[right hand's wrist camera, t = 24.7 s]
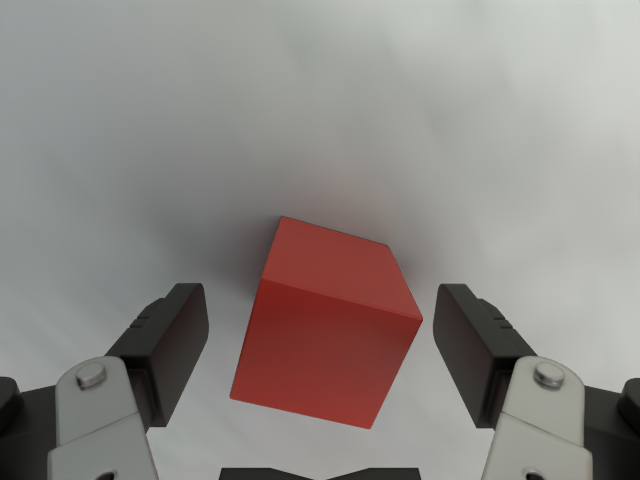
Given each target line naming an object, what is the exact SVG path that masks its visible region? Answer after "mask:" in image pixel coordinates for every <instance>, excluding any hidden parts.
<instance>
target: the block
mask: <svg viewBox="0 0 640 480" xmlns="http://www.w3.org/2000/svg"><path fill="white" fill-rule="evenodd" d="M422 321H423V317H422V315H421V313H420V311H419V309H418V307H417V304H416V302H415V300H414V298H413V296H412V294H411V292H410V290H409V288H408V286H407V284H406V281H405V279H404V277H403V275H402V273H401V271H400V269H399V267H398V265H397V263H396V260H395V258H394V256H393V254H392V252H391V250H390V248H389V246H387V245H383V244H380V243H376V242H372V241H369V240H365V239H362V238H358V237H355V236H351V235H348V234H344V233H340V232H337V231H333V230H330V229H326V228H323V227H319V226H315V225H312V224H308V223H305V222H301V221H298V220H294V219H290V218H287V217H281V219H280V222H279V225H278V228H277V231H276V234H275V237H274V240H273V243H272V246H271V248H270V251H269V254H268V257H267V260H266V263H265V266H264V269H263V272H262V275H261V278H260V282H259V285H258V289H257V293H256V297H255V301H254V305H253V308H252V312H251V316H250V320H249V324H248V327H247V331H246V335H245V339H244V343H243V346H242V350H241V354H240V358H239V362H238V365H237V369H236V373H235V377H234V381H233V384H232V388H231V392H230V398H231V399H234V400H238V401H243V402H247V403H252V404H256V405H261V406H266V407H270V408H275V409H279V410H284V411H288V412H293V413H297V414H302V415H306V416H311V417H316V418H320V419H325V420H329V421H334V422H338V423H343V424H347V425H352V426H356V427H361V428H366V429H370V428H371V427H372V425H373V423H374V420H375V418H376V416H377V414H378V412H379V410H380V408H381V406H382V404H383V402H384V400H385V398H386V396H387V394H388V391H389V389H390V387H391V385H392V383H393V381H394V379H395V377H396V375H397V373H398V371H399V369H400V367H401V365H402V362H403V360H404V358H405V356H406V354H407V352H408V350H409V348H410V346H411V344H412V342H413V340H414V338H415V336H416V333H417V331H418V329H419V327H420V325H421V323H422Z"/></svg>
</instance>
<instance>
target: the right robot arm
mask: <svg viewBox="0 0 640 480" xmlns="http://www.w3.org/2000/svg"><path fill="white" fill-rule="evenodd" d="M208 332H209V322H208V315H207V308H206V301H205V294H204V288H203V285H202V284H201V283H177V284H176V285H175V286H174V287H173V289H172V290H171V291H170V292H169V294H168V295H167V296H166V297H165V298H159V299H158V300H156V301H154V302H153V303H151V304H150V305H148V306H147V307H145V309H144V310H143V311H142V312H141V313H140V314H139V316H138V317H137V319H135V320H134V321H133V323H132V324H131V325H130V328H128V329H127V330H126V331H125V332H124V333H123V334H122V336H121V337H120V338H119V339H118V340H117V341H116V343H115V344H114V345H113V346H112V347H111V348H110V350H109V351H108V352H107V353H106V354H105V355H104V356H102V357H96V358H92V359H89V360H87V361H84V362H82V363H80V364H78V365H76V366H74V367H73V368H71V369H70V370H68V371H67V372H66V373H65V374H64V375H63V376H62V377H61V378H60V379H59V381H58V382H57V384H56V385H54V386H49V387H44V388H40V389H35V390H31V391H26V392H22V393H20V391H19V388H18V386H17V383H16V381H15V380H14V379H12V378H9V377H0V480H159V478H158V474H157V471H156V467H155V464H154V461H153V457H152V454H151V450H150V447H149V444H148V440H147V437H146V433H147V431H148V429H149V427H166V426H167V424H168V422H169V420H170V418H171V415H172V413H173V411H174V409H175V407H176V405H177V403H178V401H179V399H180V397H181V394H182V392H183V390H184V388H185V386H186V384H187V382H188V380H189V378H190V375H191V373H192V371H193V369H194V367H195V365H196V363H197V361H198V359H199V356H200V354H201V352H202V350H203V348H204V346H205V344H206V342H207V338H208ZM433 335H434V340H435V343H436V345H437V347H438V349H439V351H440V353H441V355H442V357H443V360H444V362H445V364H446V366H447V368H448V370H449V372H450V374H451V376H452V378H453V380H454V382H455V385H456V387H457V389H458V391H459V393H460V395H461V397H462V399H463V401H464V403H465V405H466V407H467V409H468V412H469V414H470V416H471V418H472V420H473V422H474V424H475V426H476V428H493V429H494V431H495V433H494V437H493V440H492V444H491V447H490V450H489V454H488V457H487V461H486V464H485V467H484V471H483V474H482V478H481V480H640V378H633V379H630V380H628V381H627V382H626V383H625V385H624V388H623V390H622V393H616V392H611V391H607V390H602V389H598V388H593V387H589V386H585V385H584V384H583V382H582V381H581V379H580V378H579V377H578V376H577V375H576V374H575V373H574V372H573V371H572V370H570V369H569V368H567V367H566V366H564V365H562V364H560V363H558V362H556V361H553V360H551V359H548V358H544V357H538V355H537V354H536V353H535V352H534V351H533V350H532V349H531V347H530V346H529V345H528V344H527V343H526V342H525V340H524V339H523V338H522V337H521V336H520V335H519V333H518V332H517V331H516V330H515V329H513V326H512V325H511V324H510V323H509V322H508V321H507V320H505V317H504V316H503V315H502V314H501V312H500V311H499V310H498V309H497V308H496V307H495V306H493V305H491V304H490V303H488V302H487V301H485V300H483V299H477V298H476V297H475V295H474V294H473V293H472V292H471V290H470V289H469V288H468V287H467V285H466V284H440V286H439V288H438V293H437V300H436V307H435V314H434V321H433ZM219 480H313V479H309V478H305V477H302V476H298V475H294V474H291V473H287V472H283V471H280V470H276V469H272V468H222V469H221V473H220V477H219ZM327 480H421V477H420V473H419V469H418V468H368V469H364V470H360V471H357V472H353V473H349V474H346V475H342V476H338V477H335V478H331V479H327Z"/></svg>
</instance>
